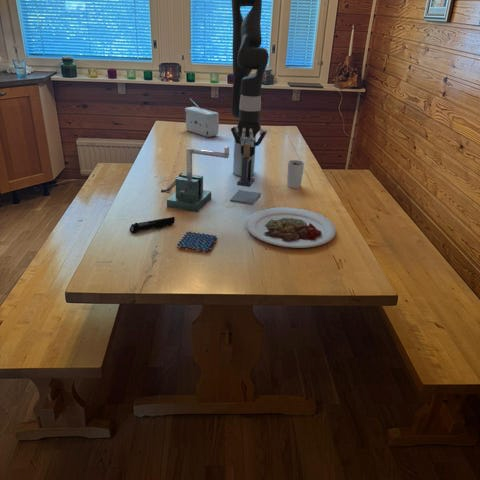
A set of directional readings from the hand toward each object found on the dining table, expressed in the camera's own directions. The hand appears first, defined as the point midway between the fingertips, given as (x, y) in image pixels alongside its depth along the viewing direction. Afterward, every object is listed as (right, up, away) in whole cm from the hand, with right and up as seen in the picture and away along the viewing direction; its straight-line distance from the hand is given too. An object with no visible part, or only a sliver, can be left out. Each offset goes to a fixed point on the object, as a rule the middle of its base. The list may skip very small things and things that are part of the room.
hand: (247, 155), depth 168 cm
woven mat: (-16, -33, -27) cm, 46 cm away
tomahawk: (-29, -9, +18) cm, 35 cm away
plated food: (+14, -28, -15) cm, 35 cm away
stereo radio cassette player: (-25, +29, +91) cm, 99 cm away
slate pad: (-1, -15, +8) cm, 17 cm away
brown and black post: (0, -10, +5) cm, 11 cm away
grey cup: (+20, -9, +22) cm, 31 cm away
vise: (-18, -19, -1) cm, 26 cm away
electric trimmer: (-32, -28, -18) cm, 46 cm away
